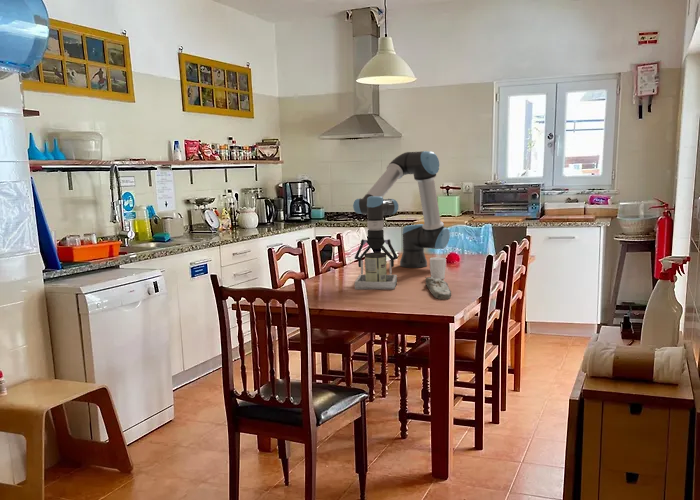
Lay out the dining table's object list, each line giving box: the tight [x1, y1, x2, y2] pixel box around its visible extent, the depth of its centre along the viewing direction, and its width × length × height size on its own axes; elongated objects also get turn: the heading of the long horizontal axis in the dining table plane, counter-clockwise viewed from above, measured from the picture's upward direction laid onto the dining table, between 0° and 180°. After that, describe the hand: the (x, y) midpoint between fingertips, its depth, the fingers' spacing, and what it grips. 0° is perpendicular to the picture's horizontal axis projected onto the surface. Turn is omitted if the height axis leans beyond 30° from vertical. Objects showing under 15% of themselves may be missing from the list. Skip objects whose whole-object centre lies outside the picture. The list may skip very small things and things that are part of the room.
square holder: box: [354, 274, 398, 291], centre depth 283 cm, size 18×18×4 cm
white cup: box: [429, 256, 447, 280], centre depth 297 cm, size 8×8×10 cm
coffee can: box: [364, 251, 388, 282], centre depth 283 cm, size 10×10×14 cm
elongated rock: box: [424, 276, 452, 300], centre depth 268 cm, size 35×5×10 cm
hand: (376, 274), depth 283 cm, fingers open, 13 cm apart
